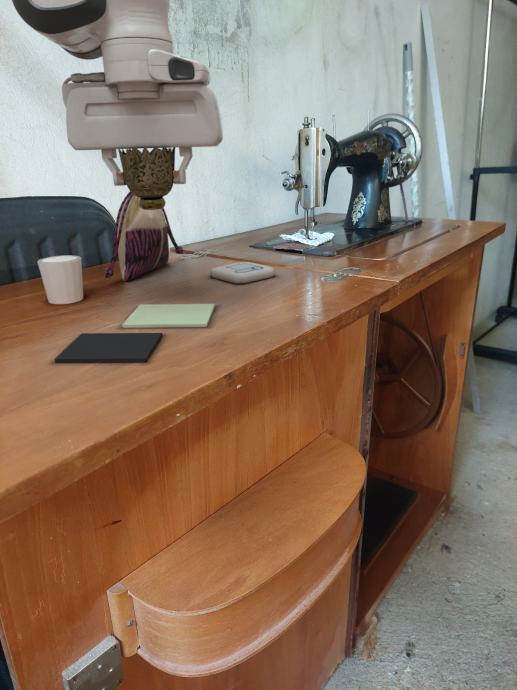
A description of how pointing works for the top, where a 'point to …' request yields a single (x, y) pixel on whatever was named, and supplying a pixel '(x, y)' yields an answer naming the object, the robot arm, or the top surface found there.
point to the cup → (149, 175)
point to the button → (242, 272)
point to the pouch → (140, 239)
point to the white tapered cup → (62, 278)
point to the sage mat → (170, 316)
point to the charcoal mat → (110, 347)
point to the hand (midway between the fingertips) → (150, 184)
